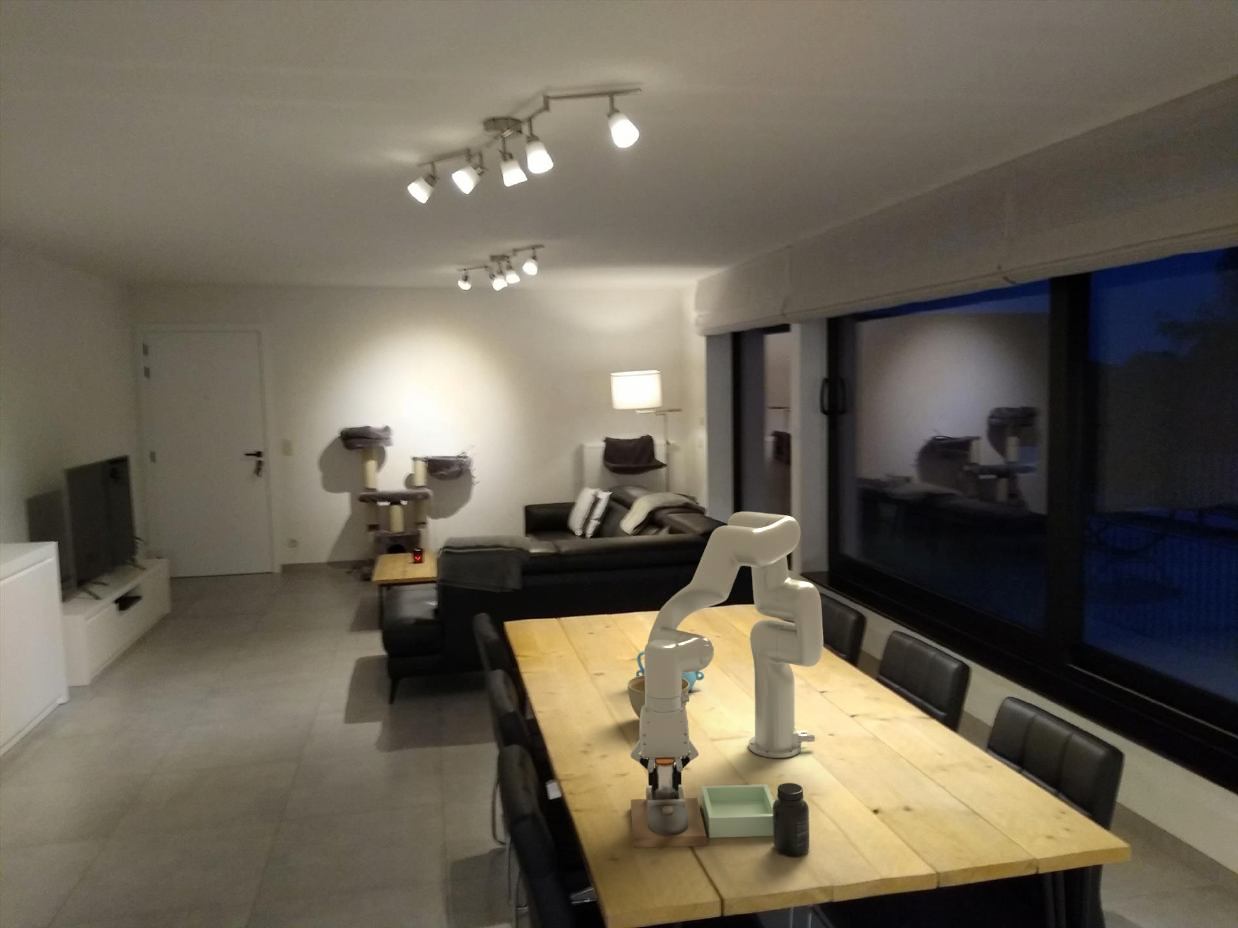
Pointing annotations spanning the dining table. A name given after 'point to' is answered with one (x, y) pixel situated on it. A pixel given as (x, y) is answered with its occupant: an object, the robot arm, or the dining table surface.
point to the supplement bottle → (790, 821)
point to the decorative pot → (690, 676)
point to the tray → (738, 810)
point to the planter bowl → (638, 692)
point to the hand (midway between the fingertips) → (664, 787)
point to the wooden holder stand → (667, 821)
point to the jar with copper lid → (664, 778)
